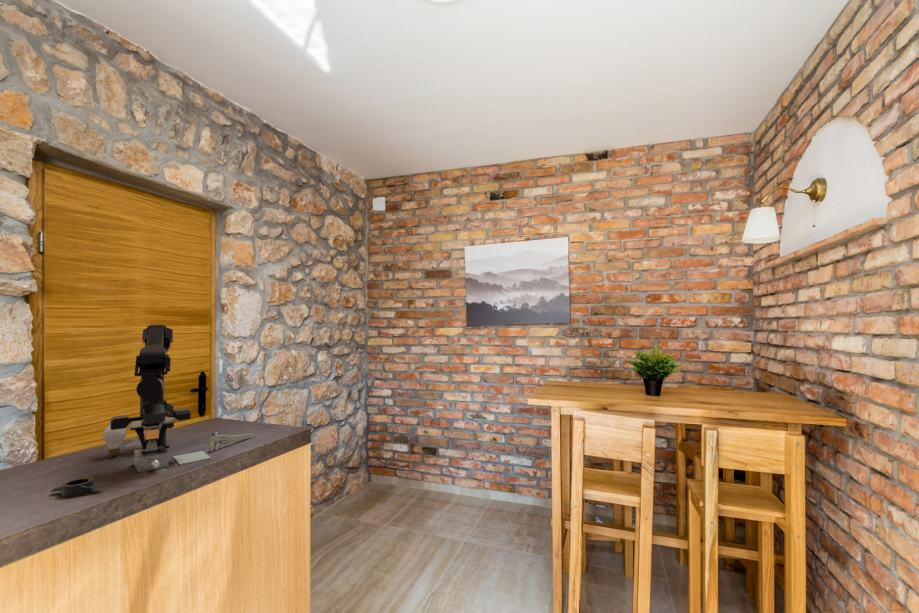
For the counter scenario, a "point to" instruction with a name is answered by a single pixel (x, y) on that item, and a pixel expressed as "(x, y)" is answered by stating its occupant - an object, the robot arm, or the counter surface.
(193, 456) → the rubber mat
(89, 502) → the counter surface
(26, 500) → the counter surface
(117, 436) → the light bulb
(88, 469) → the counter surface
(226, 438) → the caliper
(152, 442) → the orange capped vial
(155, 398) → the robot arm
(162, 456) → the block
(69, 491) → the dark flanged ring
